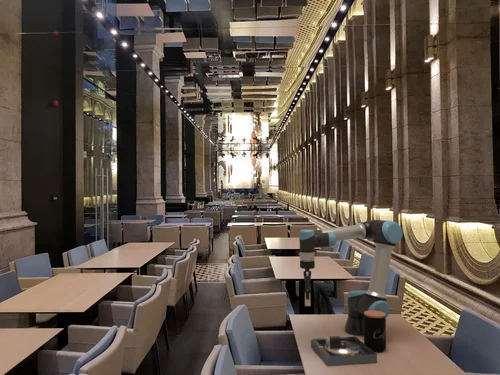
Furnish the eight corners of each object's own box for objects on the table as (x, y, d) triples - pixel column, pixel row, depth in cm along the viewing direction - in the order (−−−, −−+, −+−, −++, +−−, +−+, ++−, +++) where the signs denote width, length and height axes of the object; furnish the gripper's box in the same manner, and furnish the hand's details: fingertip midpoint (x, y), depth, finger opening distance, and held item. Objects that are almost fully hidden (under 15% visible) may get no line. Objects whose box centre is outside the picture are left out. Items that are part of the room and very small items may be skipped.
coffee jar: (374, 354, 200) (374, 317, 200) (359, 347, 209) (359, 311, 209) (390, 350, 205) (390, 314, 205) (375, 343, 214) (374, 309, 214)
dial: (351, 342, 210) (351, 329, 210) (366, 355, 193) (366, 341, 193) (320, 344, 207) (319, 331, 207) (332, 357, 190) (332, 343, 190)
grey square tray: (355, 343, 214) (355, 335, 214) (377, 362, 190) (376, 352, 190) (311, 346, 210) (311, 337, 210) (327, 366, 186) (327, 356, 186)
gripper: (300, 256, 220) (300, 295, 220) (299, 264, 196) (299, 308, 196) (314, 256, 219) (314, 295, 219) (315, 264, 195) (315, 309, 194)
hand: (307, 302), depth 207 cm, fingers open, 13 cm apart
